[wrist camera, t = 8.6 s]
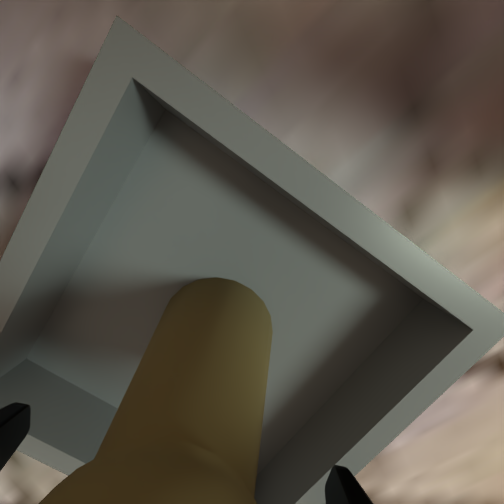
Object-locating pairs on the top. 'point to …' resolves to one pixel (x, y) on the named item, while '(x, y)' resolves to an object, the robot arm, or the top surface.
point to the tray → (222, 266)
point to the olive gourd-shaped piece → (187, 408)
